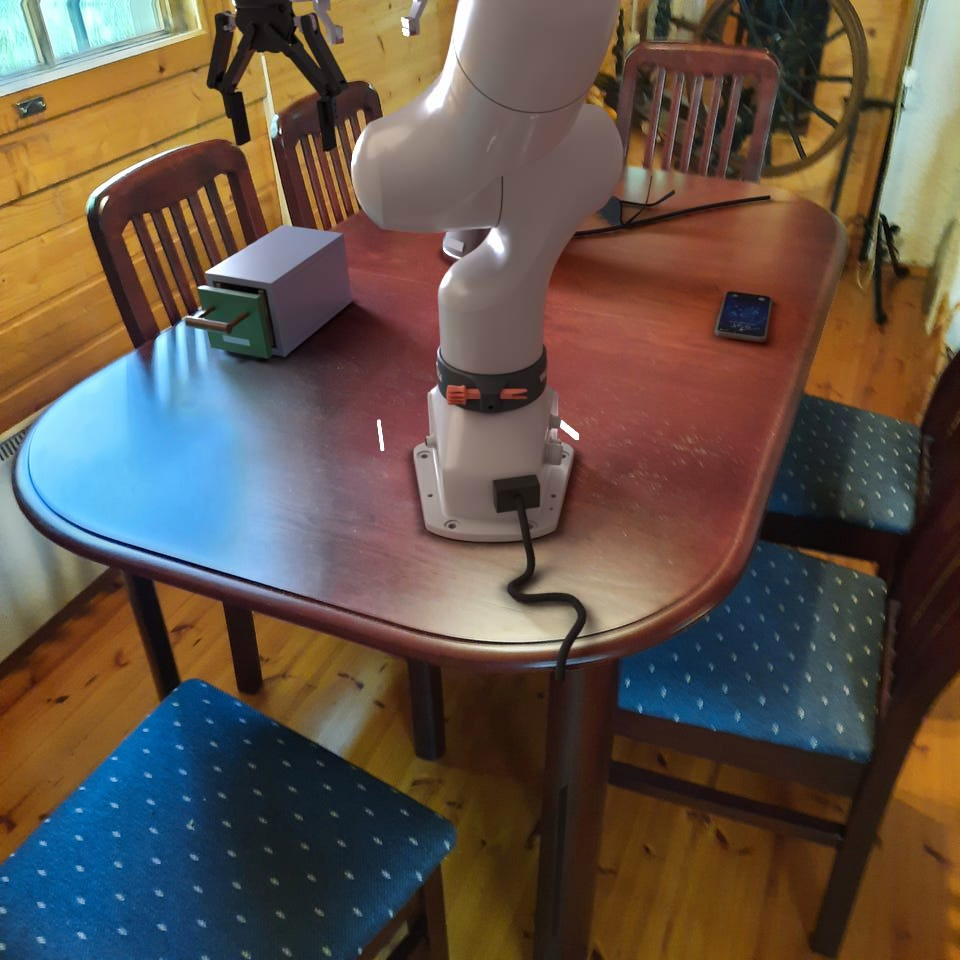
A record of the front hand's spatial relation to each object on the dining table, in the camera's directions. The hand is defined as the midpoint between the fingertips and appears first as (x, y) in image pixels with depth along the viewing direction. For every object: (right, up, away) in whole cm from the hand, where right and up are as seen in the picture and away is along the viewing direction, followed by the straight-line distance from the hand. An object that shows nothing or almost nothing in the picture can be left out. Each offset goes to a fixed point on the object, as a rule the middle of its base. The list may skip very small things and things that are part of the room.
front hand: (374, 39), depth 99 cm
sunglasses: (+42, +1, +67) cm, 79 cm away
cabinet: (-17, -27, +31) cm, 45 cm away
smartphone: (+52, -27, +29) cm, 65 cm away
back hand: (-15, -5, +20) cm, 25 cm away
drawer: (-19, -30, +26) cm, 44 cm away
